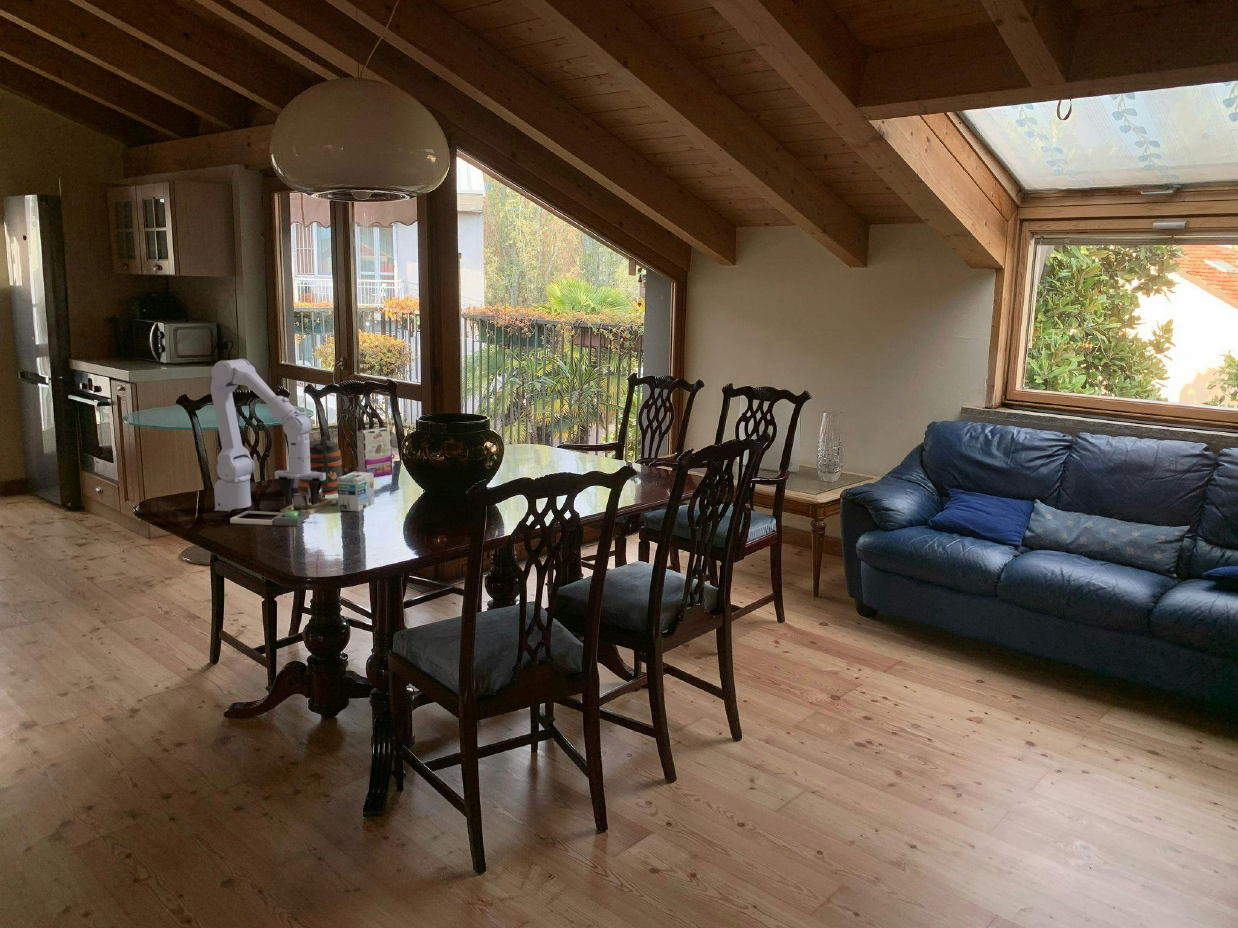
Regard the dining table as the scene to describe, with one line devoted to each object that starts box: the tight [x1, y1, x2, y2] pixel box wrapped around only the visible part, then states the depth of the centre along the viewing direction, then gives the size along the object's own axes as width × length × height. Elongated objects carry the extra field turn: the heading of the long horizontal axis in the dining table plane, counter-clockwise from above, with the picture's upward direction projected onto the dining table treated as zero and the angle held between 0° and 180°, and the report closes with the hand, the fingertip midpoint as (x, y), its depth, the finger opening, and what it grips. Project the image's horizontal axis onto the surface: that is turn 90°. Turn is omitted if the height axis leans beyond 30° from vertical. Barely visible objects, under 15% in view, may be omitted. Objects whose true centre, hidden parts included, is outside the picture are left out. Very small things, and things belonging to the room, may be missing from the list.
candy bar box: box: [356, 427, 393, 478], centre depth 325 cm, size 11×5×16 cm, turn 138°
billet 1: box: [292, 492, 308, 510], centre depth 268 cm, size 4×4×5 cm
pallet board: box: [279, 497, 337, 516], centre depth 273 cm, size 9×17×2 cm, turn 173°
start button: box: [284, 511, 298, 518], centre depth 258 cm, size 4×4×2 cm
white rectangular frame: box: [229, 510, 282, 526], centre depth 261 cm, size 12×9×2 cm
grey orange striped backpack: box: [297, 436, 343, 496], centre depth 293 cm, size 19×15×20 cm
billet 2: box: [307, 487, 324, 503], centre depth 277 cm, size 4×4×5 cm
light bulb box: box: [337, 471, 375, 512], centre depth 275 cm, size 11×7×11 cm, turn 168°
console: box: [272, 512, 310, 527], centre depth 258 cm, size 7×7×2 cm
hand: (301, 503), depth 269 cm, fingers open, 7 cm apart
